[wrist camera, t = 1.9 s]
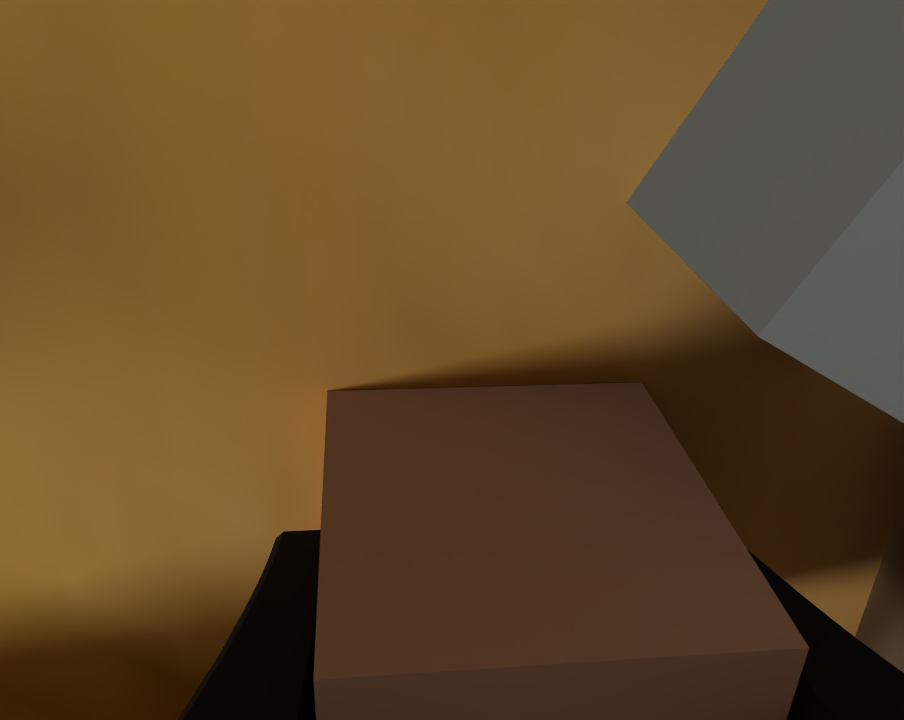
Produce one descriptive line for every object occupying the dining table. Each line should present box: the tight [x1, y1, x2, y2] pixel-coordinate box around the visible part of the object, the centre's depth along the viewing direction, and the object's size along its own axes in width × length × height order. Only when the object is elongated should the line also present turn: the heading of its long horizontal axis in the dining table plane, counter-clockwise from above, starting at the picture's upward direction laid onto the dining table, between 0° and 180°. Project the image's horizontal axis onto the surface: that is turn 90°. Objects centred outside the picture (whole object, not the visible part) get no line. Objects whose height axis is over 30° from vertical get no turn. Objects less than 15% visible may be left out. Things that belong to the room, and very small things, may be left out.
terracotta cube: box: [313, 382, 809, 720], centre depth 11 cm, size 4×4×5 cm
